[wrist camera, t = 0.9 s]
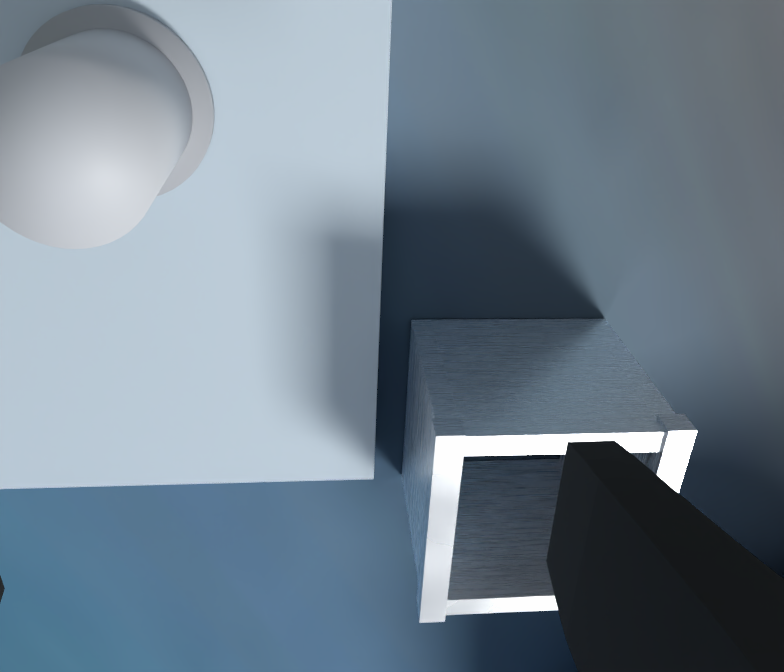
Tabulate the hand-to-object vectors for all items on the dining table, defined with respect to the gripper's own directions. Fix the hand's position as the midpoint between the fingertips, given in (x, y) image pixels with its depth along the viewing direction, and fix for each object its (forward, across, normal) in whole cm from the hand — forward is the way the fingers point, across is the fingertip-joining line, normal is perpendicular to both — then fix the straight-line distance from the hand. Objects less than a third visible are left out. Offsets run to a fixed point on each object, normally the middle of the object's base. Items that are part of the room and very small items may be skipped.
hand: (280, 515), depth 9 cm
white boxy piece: (+10, -5, +5) cm, 12 cm away
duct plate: (+10, +4, -2) cm, 10 cm away
